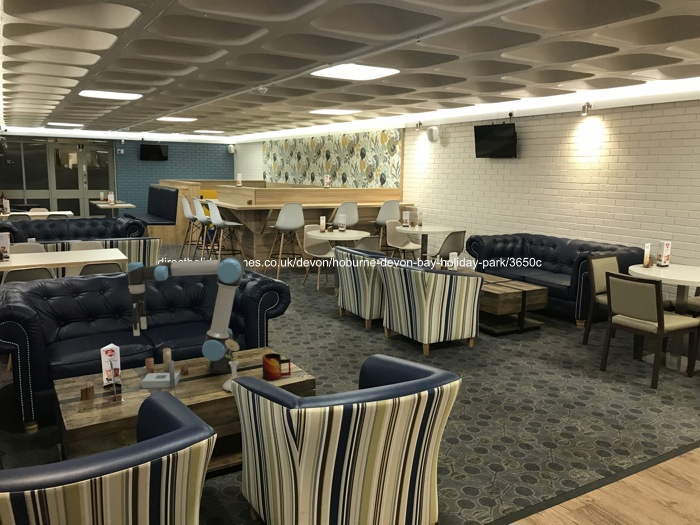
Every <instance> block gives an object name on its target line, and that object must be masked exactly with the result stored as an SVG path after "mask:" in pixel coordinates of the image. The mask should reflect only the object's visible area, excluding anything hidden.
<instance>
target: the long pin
mask: <svg viewBox="0 0 700 525" xmlns="http://www.w3.org/2000/svg"><path fill="white" fill-rule="evenodd" d="M162 357H163V362H162V363H163V373H169V361H172V349H171V347H164V348H163V349H162Z"/></svg>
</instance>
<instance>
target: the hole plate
mask: <svg viewBox="0 0 700 525" xmlns="http://www.w3.org/2000/svg"><path fill="white" fill-rule="evenodd" d="M180 376H181V372H175V361H174V360H171V361H169V373H164V372H154V373H148V374H147V375H146V374H145V377H144V378H143V379H141V388H142V389H154V388H159V389H160V388H169V389H170V390H175V389H176V386H177V384H178V383H179V380H180V379H181V378H180Z"/></svg>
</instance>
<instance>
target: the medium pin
mask: <svg viewBox="0 0 700 525" xmlns="http://www.w3.org/2000/svg"><path fill="white" fill-rule="evenodd" d="M145 373H146V374H145V376H146V375H147V374H148V373H155V365H154V357H147V358H145Z"/></svg>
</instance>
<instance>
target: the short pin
mask: <svg viewBox="0 0 700 525" xmlns="http://www.w3.org/2000/svg"><path fill="white" fill-rule="evenodd" d="M179 368H180V370H179V371H180V376H183V377H184V376H185V377H187V376H188V375H189V364H185V363H183V364H181V365H180V367H179Z"/></svg>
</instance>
